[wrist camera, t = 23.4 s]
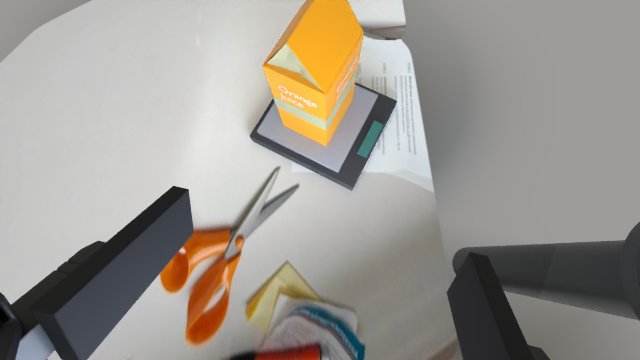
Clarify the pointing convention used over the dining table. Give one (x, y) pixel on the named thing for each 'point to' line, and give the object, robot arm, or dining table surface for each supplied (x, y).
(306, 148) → the scale
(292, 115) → the orange juice
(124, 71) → the dining table surface
